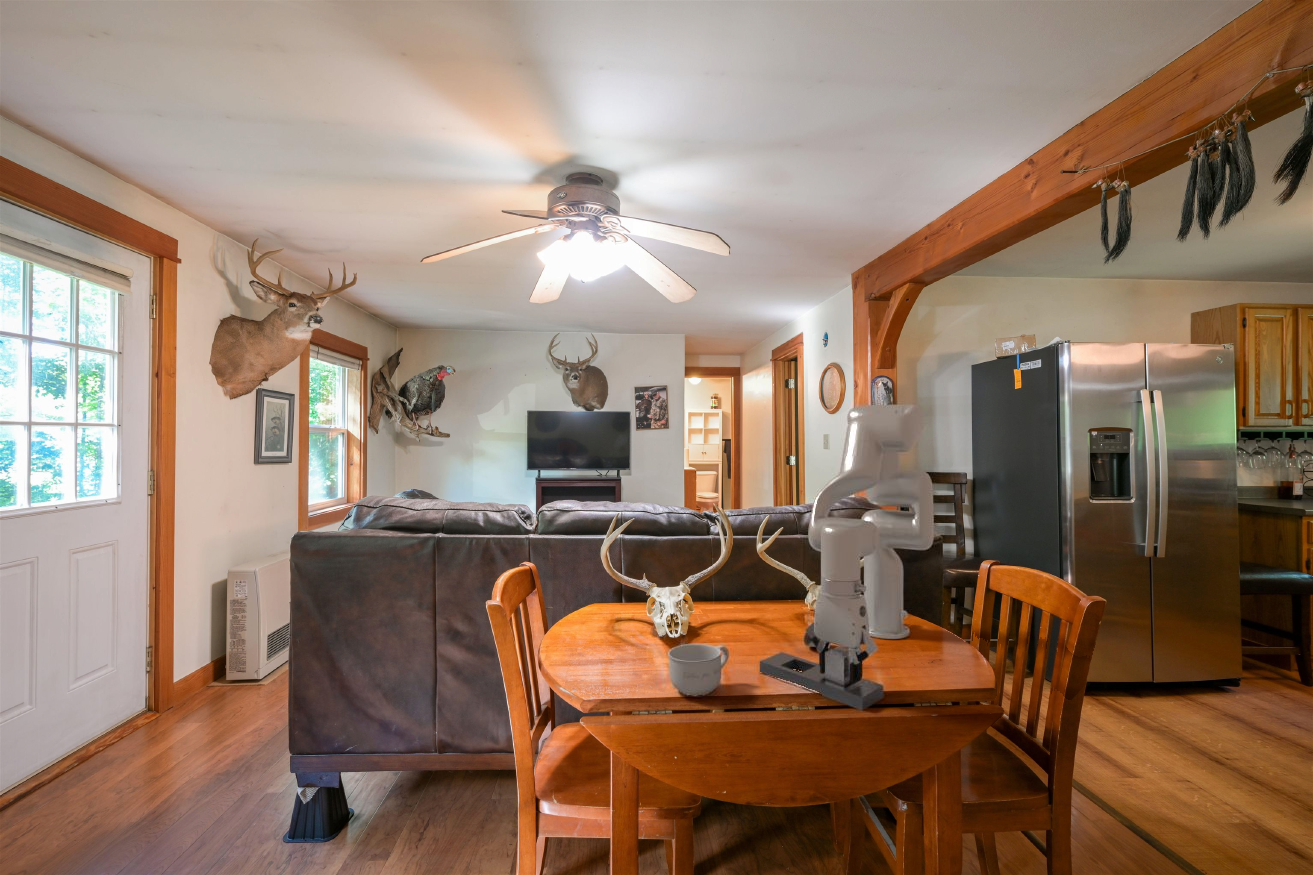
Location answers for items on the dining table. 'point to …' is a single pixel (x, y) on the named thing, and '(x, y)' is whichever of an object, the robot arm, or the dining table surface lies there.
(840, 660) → the grey rectangular block
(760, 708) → the dining table surface
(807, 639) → the mushroom
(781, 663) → the rail
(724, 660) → the teacup
